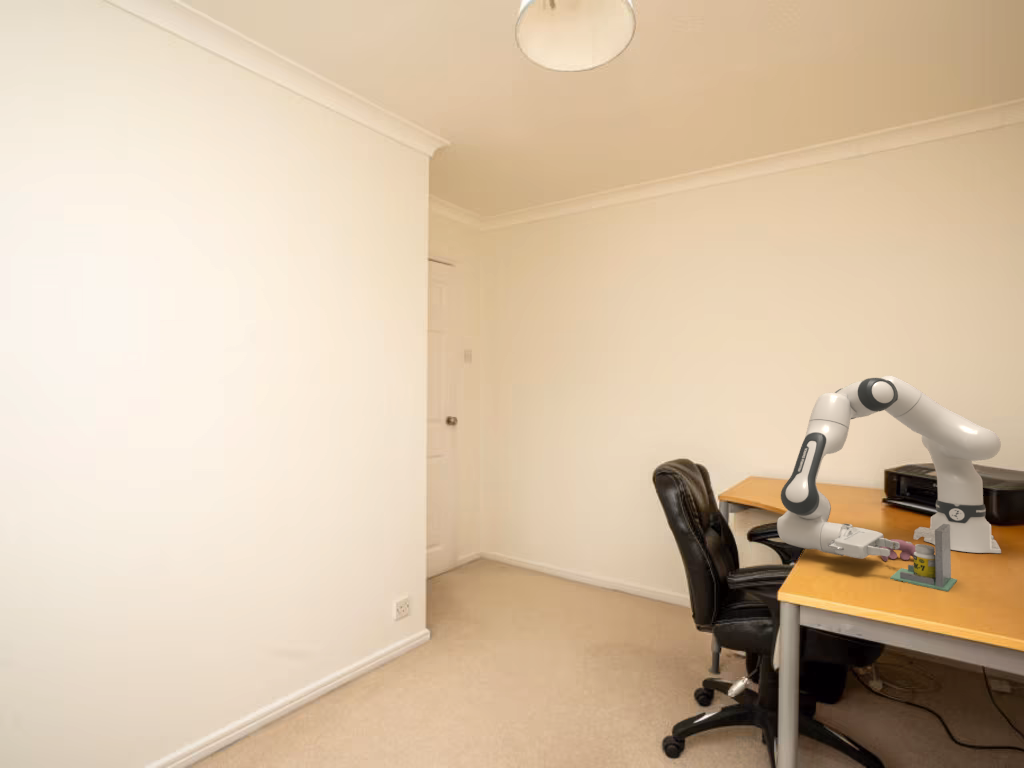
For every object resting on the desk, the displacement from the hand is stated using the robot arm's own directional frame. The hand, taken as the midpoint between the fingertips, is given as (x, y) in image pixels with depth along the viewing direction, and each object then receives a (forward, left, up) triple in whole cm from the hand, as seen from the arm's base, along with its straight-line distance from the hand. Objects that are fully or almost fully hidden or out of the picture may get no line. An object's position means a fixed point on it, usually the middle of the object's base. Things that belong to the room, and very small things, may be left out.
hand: (894, 549), depth 144 cm
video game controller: (-15, -2, -7) cm, 17 cm away
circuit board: (0, +6, -7) cm, 9 cm away
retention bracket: (0, +6, -7) cm, 9 cm away
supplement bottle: (0, +7, -6) cm, 9 cm away
